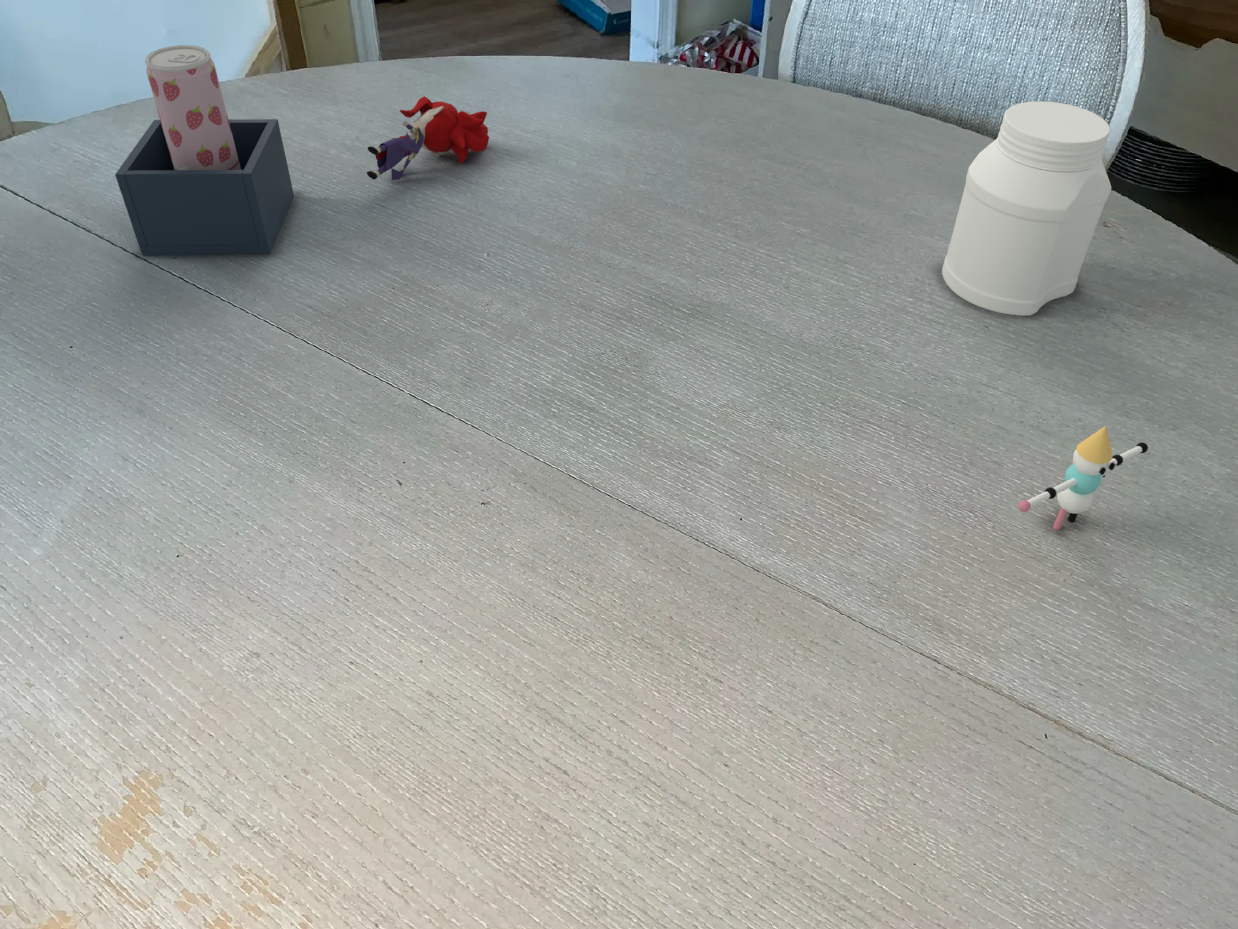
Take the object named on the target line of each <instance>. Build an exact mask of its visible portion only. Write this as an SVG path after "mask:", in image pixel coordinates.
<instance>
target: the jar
mask: <svg viewBox="0 0 1238 929" xmlns="http://www.w3.org/2000/svg"><path fill="white" fill-rule="evenodd" d="M1110 133H1111V128H1110V125H1109V124H1108V122H1107V120H1105V119H1104V118H1103V117H1102V116H1100V115H1098V114H1096V113H1094V112H1092V111H1090V110H1088V109H1086V108H1082V107H1080V106H1075V105H1072V104H1067V103H1062V102H1056V101H1055V102H1054V101H1046V100H1045V101H1044V100H1043V101H1042V100H1041V101H1034V100H1033V101H1025V102H1020V103H1016V104H1013V105H1012V106H1010V107H1008V108H1007V109H1006V110H1005V112H1004V113H1003V118H1002V122H1001V125H1000V128H999V132H998V135H997V137H996V138H995V140H993V141H992V142H991V143H989V144H988V145H987V146H986V147H985V148H983V149H982V150H981V151H980V152H979V153H978V154H977V155H976V157H975V158H974V159H973V161H972V162H971V164H970V165H969V166H968V169H967V173H966V177H965V184H964V188H963V193H962V196H961V200H960V204H959V208H958V211H957V215H956V220H955V223H954V227H953V230H952V235H951V238H950V242H949V245H948V249H947V253H946V255H945V257H944V261H943V264H942V268H941V275H942V278H943V280H944V282H945V284H946V285H947V287H948V288H949V289H950V290H951V291H952V292H953V293H954V294H956V295H957V296H958V297H960V298H961V299H963V300H965V301H966V302H968V303H970V304H971V305H974V306H976V307H979V308H982V309H984V310H987V311H990V312H994V313H998V314H1004V315H1010V316H1020V317H1021V316H1022V317H1023V316H1024V317H1030V316H1033V315H1034V314H1036V313H1038V312H1039V309H1040V308H1042V306H1044V305H1046V304H1047V303H1049V302H1051V301H1053V300H1056V299H1059V298H1064V297H1067V296H1069V295H1072V294H1073V292H1075V289H1076V286H1077V283H1078V280H1079V275H1080V272H1081V269H1082V267H1083V264H1084V261H1085V258H1086V256H1087V253H1088V250H1089V247H1090V245H1091V243H1092V239H1093V237H1094V234H1095V231H1096V229H1097V226H1098V223H1099V221H1100V218H1101V215H1102V212H1103V210H1104V207H1105V204H1106V202H1107V201H1108V200H1109V196H1110V193H1111V191H1112V185H1111V181H1110V179H1109V176H1108V173H1107V170H1106V168H1105V164H1104V162H1103V153H1104V151H1105V148H1106V147H1105V146H1106V145H1107V143H1108V139H1109V136H1110Z"/></svg>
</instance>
